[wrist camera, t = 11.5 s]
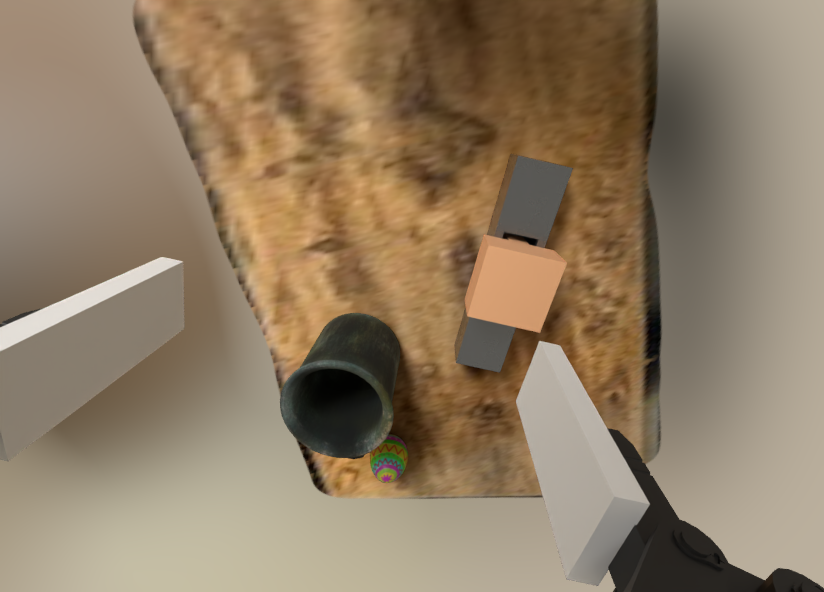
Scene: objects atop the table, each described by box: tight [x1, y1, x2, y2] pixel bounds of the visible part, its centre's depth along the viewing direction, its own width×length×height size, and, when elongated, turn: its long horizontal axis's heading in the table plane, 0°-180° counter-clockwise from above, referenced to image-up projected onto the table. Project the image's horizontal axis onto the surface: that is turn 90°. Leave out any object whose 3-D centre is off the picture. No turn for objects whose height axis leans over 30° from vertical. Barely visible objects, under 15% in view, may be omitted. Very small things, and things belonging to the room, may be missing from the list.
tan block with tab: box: [465, 233, 567, 333], centre depth 38 cm, size 7×7×7 cm
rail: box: [455, 154, 573, 372], centre depth 41 cm, size 22×5×4 cm, turn 168°
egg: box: [370, 434, 408, 483], centre depth 51 cm, size 5×5×6 cm
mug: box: [280, 313, 400, 459], centre depth 43 cm, size 11×15×12 cm
